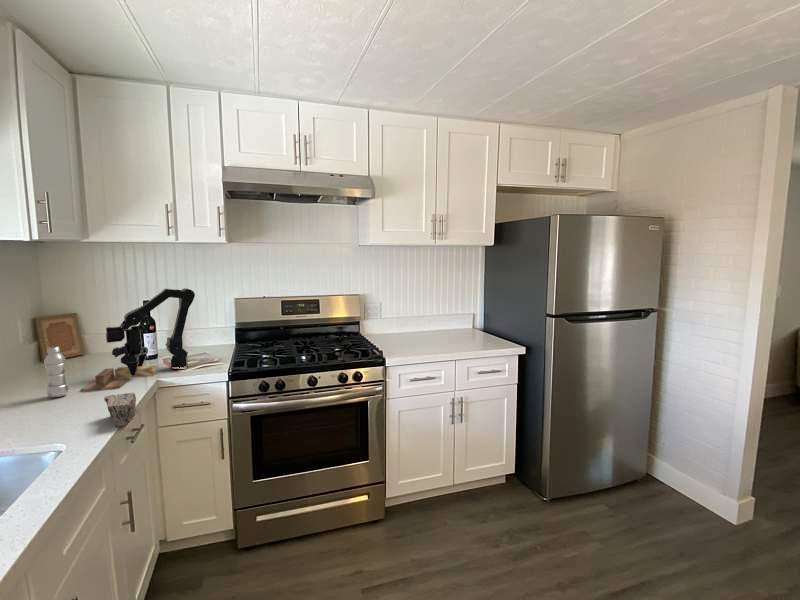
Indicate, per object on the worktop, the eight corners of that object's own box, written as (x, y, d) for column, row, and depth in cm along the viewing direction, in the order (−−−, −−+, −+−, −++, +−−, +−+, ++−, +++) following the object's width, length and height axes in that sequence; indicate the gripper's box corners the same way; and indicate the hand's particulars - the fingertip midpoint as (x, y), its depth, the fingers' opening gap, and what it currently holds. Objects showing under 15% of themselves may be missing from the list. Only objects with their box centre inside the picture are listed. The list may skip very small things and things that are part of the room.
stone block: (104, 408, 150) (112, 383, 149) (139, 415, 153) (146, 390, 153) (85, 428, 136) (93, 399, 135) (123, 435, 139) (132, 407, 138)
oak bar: (157, 373, 198) (156, 365, 197) (153, 376, 194) (152, 368, 194) (119, 375, 195) (119, 367, 195) (115, 378, 191) (114, 369, 191)
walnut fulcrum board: (129, 380, 188) (128, 366, 187) (119, 388, 176) (118, 374, 176) (92, 382, 184) (91, 369, 183) (80, 391, 172) (79, 377, 172)
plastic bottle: (47, 396, 167) (41, 347, 165) (68, 392, 172) (63, 344, 169) (47, 400, 162) (41, 350, 160) (69, 396, 167) (64, 347, 164)
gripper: (120, 336, 199) (123, 368, 201) (105, 345, 181) (108, 380, 183) (147, 335, 202) (149, 366, 204) (134, 343, 185) (137, 378, 187)
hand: (136, 372), depth 195 cm, fingers open, 9 cm apart
